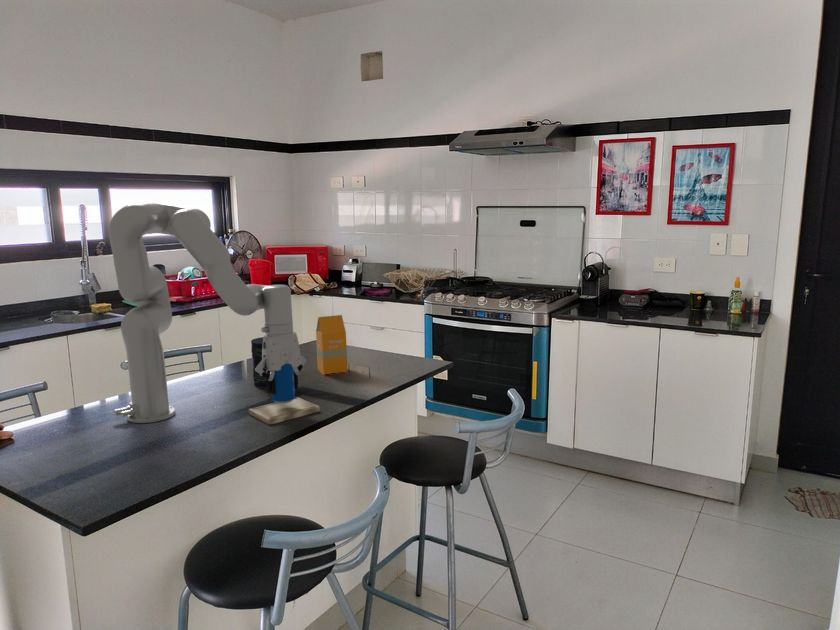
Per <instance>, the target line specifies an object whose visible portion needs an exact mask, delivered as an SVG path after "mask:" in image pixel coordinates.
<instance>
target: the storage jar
mask: <svg viewBox="0 0 840 630" xmlns="http://www.w3.org/2000/svg"><path fill="white" fill-rule="evenodd" d="M263 338H264V336H262V337H261V336H260V337H256V338H254V339H251V340H250V342H251V346H250V347H251V357H252V361H253V362H252V364H253V368H252V376H253V377H252V378H253V386H254V387H256V388H259V387H267V383H266V379H265V378H264V377H262V376H261V375H260V374H259V373H258V372H256V371H255V368H256V367H257V366H258V364H259V363H260V362H261V360H262V346H263ZM266 370H267V369H265V368H263V371H264V372H266Z"/></svg>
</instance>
